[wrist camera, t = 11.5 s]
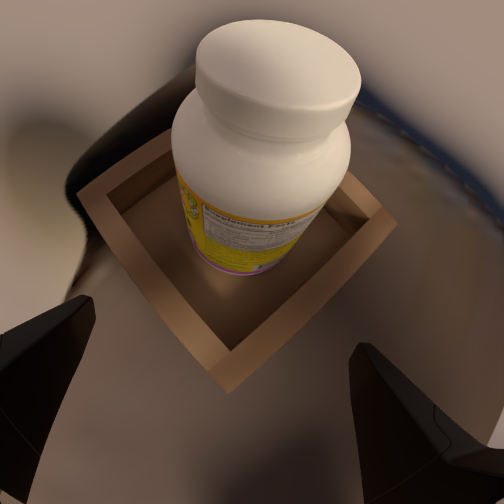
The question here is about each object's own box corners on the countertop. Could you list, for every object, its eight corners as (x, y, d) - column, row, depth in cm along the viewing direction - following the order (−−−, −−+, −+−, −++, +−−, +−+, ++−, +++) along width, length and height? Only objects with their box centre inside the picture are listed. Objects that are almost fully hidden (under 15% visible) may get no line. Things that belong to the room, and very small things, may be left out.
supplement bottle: (206, 172, 20) (209, -3, 8) (299, 197, 20) (383, 42, 8) (174, 263, 18) (111, 105, 5) (280, 291, 18) (403, 180, 6)
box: (370, 243, 21) (397, 223, 17) (225, 383, 16) (228, 394, 13) (244, 119, 23) (249, 86, 19) (96, 219, 19) (75, 193, 15)
